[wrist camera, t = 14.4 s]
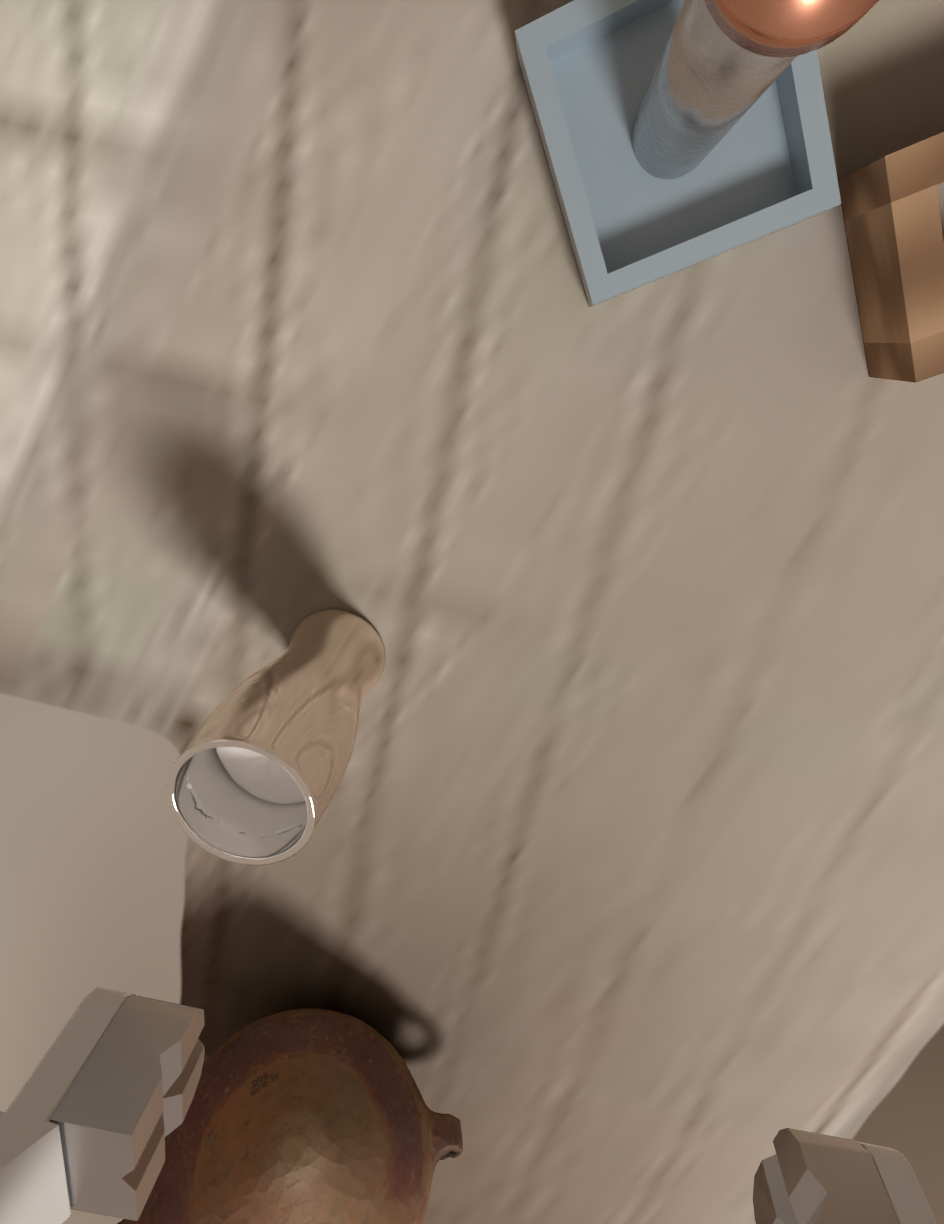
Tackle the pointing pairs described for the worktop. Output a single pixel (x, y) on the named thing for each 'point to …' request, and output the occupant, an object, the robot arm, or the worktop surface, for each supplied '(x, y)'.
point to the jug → (303, 1131)
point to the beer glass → (278, 744)
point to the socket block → (899, 259)
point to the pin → (725, 71)
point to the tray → (614, 180)
